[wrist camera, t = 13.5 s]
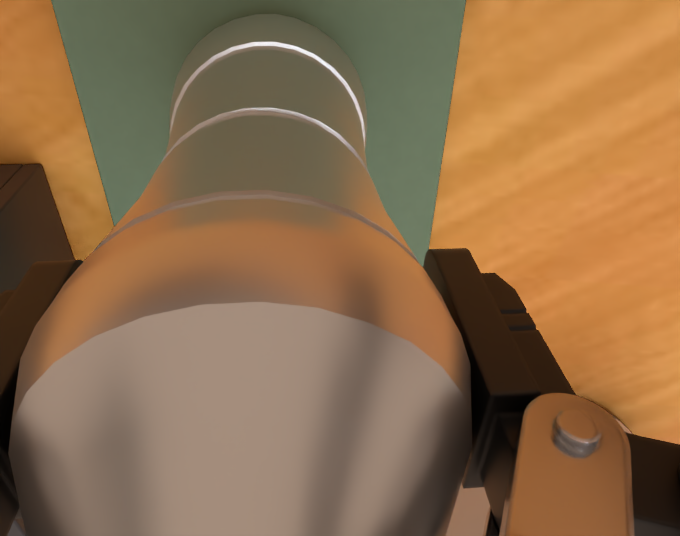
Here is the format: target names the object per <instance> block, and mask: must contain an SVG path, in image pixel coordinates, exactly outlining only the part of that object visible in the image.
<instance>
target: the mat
mask: <svg viewBox="0 0 680 536" xmlns="http://www.w3.org/2000/svg"><path fill="white" fill-rule="evenodd" d="M51 1H52V5H53V8H54V12H55V16H56V19H57V23H58V26H59V30H60V33H61V37H62V41H63V44H64V48H65V51H66V55H67V59H68V62H69V66H70V69H71V73H72V76H73V80H74V84H75V87H76V91H77V94H78V98H79V101H80V105H81V109H82V112H83V116H84V119H85V123H86V127H87V130H88V134H89V137H90V141H91V144H92V148H93V152H94V155H95V159H96V162H97V166H98V170H99V173H100V177H101V180H102V184H103V187H104V191H105V195H106V198H107V202H108V205H109V209H110V213H111V216H112V220H113V223H114V227H115V226H116V224H117V223H118V222H119V221H120V220H121V219H122V218H123V216H124V215H125V214H126V213H127V212H128V211H129V210H130V208H131V207H132V206H133V205H134V204H135V203H136V201H137V200H138V199H139V198H140V197H141V195H142V193H143V192H144V190H145V188H146V187H147V185H148V183H149V182H150V180H151V178H152V176H153V175H154V173H155V171H156V170H157V168H158V166H159V165H160V164H161V162H162V160H163V158H164V156H165V155H166V151H167V147H168V142H169V138H170V134H169V123H170V107H171V100H172V94H173V90H174V86H175V82H176V77H177V75H178V73H179V71H180V69H181V67H182V65H183V63H184V61H185V58H186V57H187V56H188V55H189V53H190V52H191V51H192V50H193V48H194V47H195V46H196V44H197V43H198V42H199V41H200V40H202V39H203V38H204V37H205V36H206V35H208V34H209V33H210V32H211V31H213V30H214V29H215V28H217V27H219V26H221V25H223V24H226V23H228V22H230V21H232V20H234V19H238V18H242V17H246V16H250V15H255V14H279V15H283V16H288V17H293V18H296V19H299V20H301V21H303V22H305V23H307V24H310V25H312V26H314V27H316V28H318V29H319V30H320V31H322V32H323V33H325V34H326V35H327V36H329V37H330V38H331V39H333V40H334V41H335V42H336V43H337V45H338V46H339V47H340V48H341V49H342V50H343V51H344V52H345V53H346V55H347V56H348V57H349V59H350V61H351V63H352V64H353V66H354V68H355V69H356V71H357V73H358V75H359V78H360V81H361V84H362V87H363V90H364V94H365V102H366V109H367V138H366V148H365V155H366V163H367V169H368V172H369V175H370V177H371V179H372V181H373V183H374V185H375V188H376V190H377V193H378V195H379V197H380V200H381V202H382V204H383V207H384V209H385V211H386V213H387V214H388V216H389V217H390V219H391V220H392V222H393V223H394V225H395V226H396V228H397V229H398V231H399V232H400V234H401V236H402V237H403V239H404V240H405V242H406V243H407V245H408V246H409V248H410V249H411V251H412V252H413V254H414V255H415V257H416V258H417V260H418V262H419V263H420V265H421V266H422V267H423V265H424V259H425V254H426V252H427V250H429V243H430V236H431V230H432V223H433V216H434V210H435V203H436V197H437V190H438V183H439V177H440V170H441V163H442V157H443V150H444V143H445V137H446V130H447V123H448V117H449V110H450V104H451V97H452V90H453V84H454V77H455V70H456V64H457V57H458V50H459V44H460V37H461V31H462V24H463V17H464V11H465V4H466V0H51Z"/></svg>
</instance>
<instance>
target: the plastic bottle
mask: <svg viewBox="0 0 680 536" xmlns="http://www.w3.org/2000/svg"><path fill="white" fill-rule="evenodd" d="M169 134H170V138H169V142H168V147H167V151H166V155H165V156H164V158H163V160H162V162H161V164H160V165H159V166H158V168H157V170H156V171H155V173H154V175H153V176H152V178H151V180H150V182H149V183H148V185H147V187H146V188H145V190H144V192H143V193H142V195H141V197H140V198H139V199H138V200H137V201H136V203H135V204H134V205H133V206H132V207H131V208H130V210H129V211H128V212H127V213H126V214H125V215H124V216H123V218H122V219H121V220H120V221H119V222H118V223H117V224H116V226H115V227H114V228H113V229H112V230H111V231H110V232H109V234H108V235H107V236H106V237H105V238H104V239H103V240H102V242H101V243H100V244H99V245H98V246H97V247H96V249H95V250H94V251H93V252H92V253H91V254H90V255H89V256H88V257H87V258H86V259H85V260H84V262H83V263H82V264H81V265H80V266H79V267H78V269H77V270H76V271H75V272H74V273H73V274H72V276H71V277H70V278H69V279H68V280H67V281H66V283H65V284H64V285H63V287H62V288H61V290H60V291H59V293H58V294H57V296H56V297H55V299H54V300H53V302H52V303H51V305H50V306H49V308H48V309H47V310H46V312H45V313H44V314H43V316H42V317H41V319H40V320H39V321H38V323H37V324H36V325H35V327H34V330H33V332H32V334H31V336H30V339H29V341H28V343H27V345H26V347H25V350H24V352H23V354H22V356H21V358H20V364H19V371H18V379H17V386H16V393H15V401H14V408H13V415H12V423H11V432H10V442H9V451H8V454H9V459H10V463H11V468H12V473H13V477H14V482H15V486H16V491H17V495H18V500H19V505H20V509H21V514H22V518H23V523H24V527H25V532H26V536H446V533H447V530H448V527H449V523H450V520H451V517H452V513H453V510H454V507H455V503H456V500H457V497H458V493H459V490H460V487H461V483H462V480H463V477H464V473H465V470H466V467H467V463H468V460H469V457H470V453H471V450H472V410H471V369H470V361H469V358H468V355H467V352H466V349H465V345H464V342H463V339H462V336H461V333H460V331H459V330H458V328H457V326H456V324H455V322H454V320H453V318H452V316H451V315H450V312H449V310H448V308H447V306H446V304H445V302H444V300H443V298H442V296H441V294H440V293H439V291H438V290H437V288H436V287H435V285H434V284H433V282H432V281H431V279H430V278H429V276H428V274H427V273H426V271H425V270H424V268H423V267H422V266H421V265H420V263H419V262H418V260H417V258H416V257H415V255H414V254H413V252H412V251H411V249H410V248H409V246H408V245H407V243H406V242H405V240H404V239H403V237H402V236H401V234H400V232H399V231H398V229H397V228H396V226H395V225H394V223H393V222H392V220H391V219H390V217H389V216H388V214H387V213H386V211H385V209H384V207H383V204H382V202H381V200H380V197H379V195H378V193H377V190H376V188H375V185H374V183H373V181H372V179H371V177H370V175H369V172H368V169H367V163H366V155H365V148H366V138H367V109H366V102H365V94H364V90H363V87H362V84H361V81H360V78H359V75H358V73H357V71H356V69H355V68H354V66H353V64H352V63H351V61H350V59H349V57H348V56H347V55H346V53H345V52H344V51H343V50H342V49H341V48H340V47H339V46H338V45H337V43H336V42H335V41H334V40H333V39H331V38H330V37H329V36H327V35H326V34H325V33H323V32H322V31H320V30H319V29H318V28H316V27H314V26H312V25H310V24H307V23H305V22H303V21H301V20H299V19H296V18H293V17H288V16H283V15H279V14H255V15H250V16H246V17H242V18H238V19H234V20H232V21H230V22H228V23H226V24H223V25H221V26H219V27H217V28H215V29H214V30H213V31H211V32H210V33H209V34H208V35H206V36H205V37H204V38H203V39H202V40H200V41H199V42H198V43H197V44H196V46H195V47H194V48H193V50H192V51H191V52H190V53H189V55H188V56H187V57H186V58H185V61H184V63H183V65H182V67H181V69H180V71H179V73H178V75H177V77H176V82H175V86H174V90H173V94H172V100H171V107H170V123H169Z"/></svg>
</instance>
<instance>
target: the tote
mask: <svg viewBox="0 0 680 536" xmlns="http://www.w3.org/2000/svg"><path fill="white" fill-rule="evenodd" d="M64 260H74V257H73V255H72V252H71V249H70V246H69V243H68V240H67V237H66V234H65V232H64V229H63V226H62V223H61V220H60V217H59V214H58V212H57V209H56V206H55V203H54V200H53V197H52V194H51V192H50V189H49V186H48V183H47V180H46V177H45V174H44V171H43V169H42V166H41V165H40V164H27V165H22V164H13V165H0V294H1V293H2V292H4V291H5V290H15V289H16V288H17V286H18V285H19V283H20V282H21V280H22V279H23V277H24V276H25V274H26V273H27V271H28V270H29V268H30V267H31V266H32V264H33V263H35V262H37V261H64ZM8 536H26V532H25V527H24V523H23V519H14V521H13V524H12V526H11V528H10V531H9V533H8Z"/></svg>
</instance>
